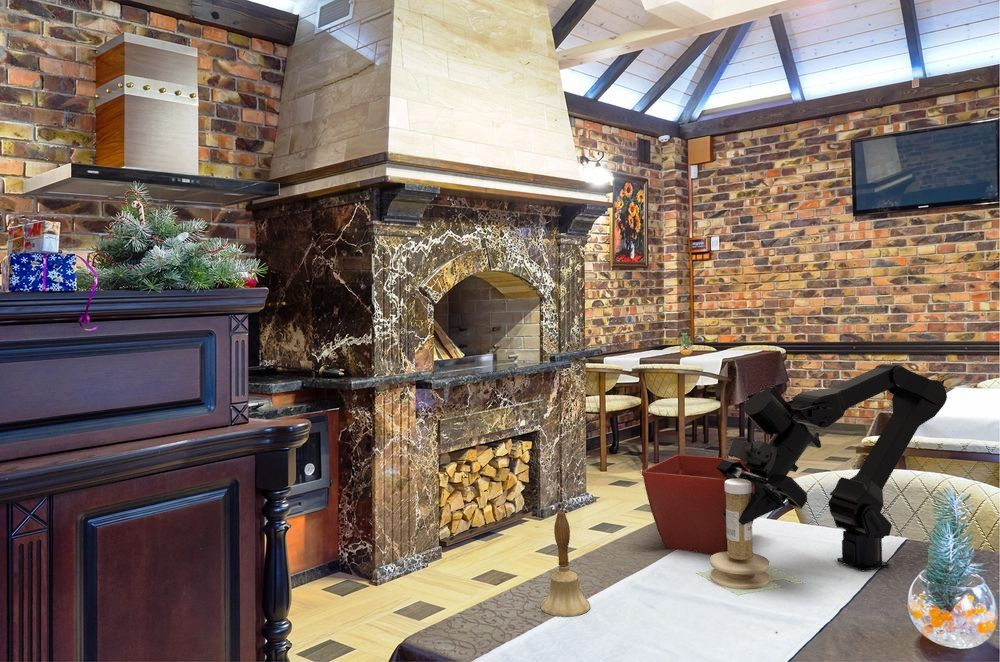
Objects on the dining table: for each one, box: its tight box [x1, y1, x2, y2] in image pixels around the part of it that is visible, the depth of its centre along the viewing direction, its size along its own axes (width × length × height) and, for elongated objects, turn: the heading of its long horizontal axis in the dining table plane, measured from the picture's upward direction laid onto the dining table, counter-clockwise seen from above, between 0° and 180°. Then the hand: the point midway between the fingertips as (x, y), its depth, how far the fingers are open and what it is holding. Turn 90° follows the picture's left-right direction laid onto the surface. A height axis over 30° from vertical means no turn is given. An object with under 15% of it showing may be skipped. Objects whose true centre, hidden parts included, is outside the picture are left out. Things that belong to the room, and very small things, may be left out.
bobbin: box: [709, 551, 771, 590], centre depth 138 cm, size 10×10×3 cm
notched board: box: [695, 566, 806, 596], centre depth 139 cm, size 14×12×1 cm
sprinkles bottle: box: [725, 479, 754, 560], centre depth 138 cm, size 5×5×14 cm
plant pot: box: [642, 454, 757, 556], centre depth 159 cm, size 19×19×17 cm
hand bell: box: [540, 511, 591, 618], centre depth 130 cm, size 8×8×16 cm
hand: (732, 520), depth 137 cm, fingers closed on sprinkles bottle, 4 cm apart
